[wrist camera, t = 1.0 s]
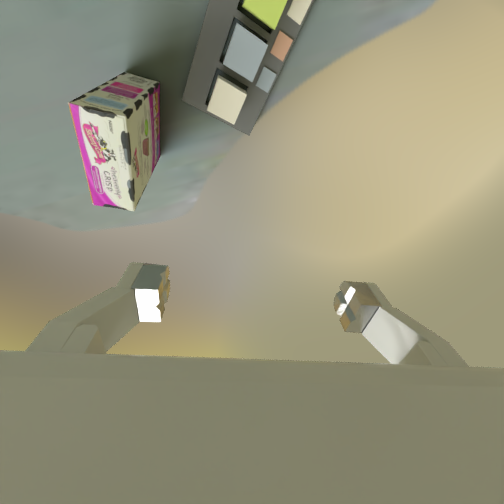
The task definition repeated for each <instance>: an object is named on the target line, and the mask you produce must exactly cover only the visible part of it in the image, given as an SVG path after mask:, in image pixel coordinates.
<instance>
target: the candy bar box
mask: <svg viewBox="0 0 504 504" xmlns="http://www.w3.org/2000/svg"><path fill="white" fill-rule="evenodd" d="M68 104H69V108H70V112H71V116H72V120H73V124H74V128H75V132H76V136H77V140H78V144H79V148H80V152H81V156H82V161H83V165H84V169H85V173H86V177H87V182H88V186H89V190H90V195H91V199H92V203H93V205H98V206H104V207H112V208H119V209H124V210H130V211H135V209H136V206H137V204H138V202H139V200H140V198H141V196H142V194H143V192H144V190H145V187H146V185H147V183H148V181H149V179H150V177H151V174H152V172H153V170H154V168H155V166H156V164H157V162H158V160H159V157H160V82H157V81H154V80H150V79H147V78H143V77H140V76H136V75H133V74H130V73H126V72H124V73H122V74H120V75H118V76H116V77H115V78H113V79H111V80H109V81H107V82H105V83H104V84H102V85H100V86H98V87H96V88H94V89H93V90H91V91H89V92H87V93H85V94H83V95H82V96H80V97H78V98H76V99H74V100H73V101H71V102H68Z"/></svg>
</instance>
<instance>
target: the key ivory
mask: <svg viewBox="0 0 504 504" xmlns="http://www.w3.org/2000/svg"><path fill="white" fill-rule="evenodd" d="M246 96H247V93H246V91H245V90H243V89H242V88H240V87H238V86H237V85H235V84H233V83H232V82H230V81H228V80H227V79H225V78H223V77H222V76H220V75H219V74H218V77H217V80H216V83H215V86H214V89H213V92H212V95H211V98H210V101H209V104H208V107H207V111H209V112H211V113H213V114H214V115H216V116H218V117H220V118H222V119H224V120H226V121H228V122H230V123H231V124H233V125H234V124H235V122H236V119H237V117H238V115H239V112H240V110H241V108H242V105H243V103H244V101H245V98H246Z"/></svg>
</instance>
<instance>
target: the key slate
mask: <svg viewBox="0 0 504 504" xmlns="http://www.w3.org/2000/svg"><path fill="white" fill-rule="evenodd" d="M267 47H268V45H267V44H266V43H264V42H263V41H262V40H260V39H259V38H257V37H256V36H255V35H253V34H252V33H251V32H249V31H248V30H246V29H245V28H244V27H242V26H241V25H239V24H238V23H236V25H235V28H234V31H233V34H232V37H231V40H230V42H229V45H228V48H227V51H226V54H225V57H224V60H223V64H224V65H225V66H227V67H228V68H230V69H232V70H233V71H235V72H236V73H238V74H240V75H241V76H243V77H244V78H246V79H248V80H249V81H251V82H253V80H254V77H255V75H256V73H257V70H258V68H259V66H260V63H261V61H262V59H263V56H264V54H265V52H266V49H267Z"/></svg>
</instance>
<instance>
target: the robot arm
mask: <svg viewBox="0 0 504 504" xmlns="http://www.w3.org/2000/svg"><path fill="white" fill-rule="evenodd" d="M169 272H170V271H169V266H165V265H156V264H147V263H145V264H144V263H136V262H132V263H130V264H129V266H128V268H127V270H126V271H125V273H124V274H123V276H122V278H121V279H120V281H119V283H118V284H117V286H116V287H115V288H110V289H108V290H106V291H104V292H102V293H100V294H99V295H97V296H95V297H93V298H91V299H90V300H88V301H86V302H84V303H82V304H80V305H78V306H77V307H75V308H73V309H71V310H69V311H68V312H66V313H64V314H62V315H60V316H58V317H57V318H55V319H53V320H51V321H49V322H48V323H47V325H46V326H45V327H44V328H43V330H42V331H41V332H40V333H39V334H38V336H37V337H36V338H35V339H34V341H33V342H32V343H31V344H30V346H29V347H28V348H27V349H26V351H4V350H0V504H504V368H494V367H493V368H492V367H469V366H468V365H467V364H466V362H465V361H464V360H463V359H462V358H461V356H460V355H459V354H458V353H457V352H456V350H455V349H454V348H453V347H452V346H451V345H450V343H449V342H447V341H446V340H444V339H443V338H441V337H440V336H438V335H437V334H435V333H434V332H432V331H431V330H429V329H427V328H426V327H425V326H423V325H421V324H420V323H419V322H417V321H415V320H414V319H412V318H411V317H409V316H408V315H406V314H405V313H403V312H402V311H400V310H399V309H397V308H393V307H392V305H391V304H390V303H389V301H388V300H387V299H386V297H385V296H384V294H383V293H382V292H381V290H380V289H379V288H378V286H377V285H376V284H374V283H366V282H364V283H362V282H350V281H344V282H343V283H342V284H341V285H340V290H341V291H340V292H338V293H337V294H336V296H335V298H334V309H335V311H336V313H337V314H338V315H340V316H341V318H340V322H341V324H342V326H343V329H344V331H345V332H353V333H362V335H363V336H364V337H365V338H366V339H367V340H368V341H369V342H370V343H371V344H372V345H373V346H374V347H375V348H376V349H377V350H378V351H379V352H380V353H381V354H382V355H383V356H384V357H385V358H386V359H387V360H388V361H389V362H390V363H391V364H378V363H351V362H322V361H320V362H319V361H292V360H263V359H236V358H205V357H177V356H149V355H119V354H106V352H107V351H108V350H109V349H110V348H111V347H112V346H113V345H114V344H116V342H118V341H119V340H120V339H121V338H122V337H123V336H125V334H127V333H128V332H129V331H130V330H131V329H132V328H133V327H134V326H136V325H137V324H138V323H139V321H149V322H161V319H162V316H163V313H164V310H165V307H164V304H165V303H166V302H167V300H168V297H169V292H170V280H169V279H168V277H169V274H170V273H169Z"/></svg>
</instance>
